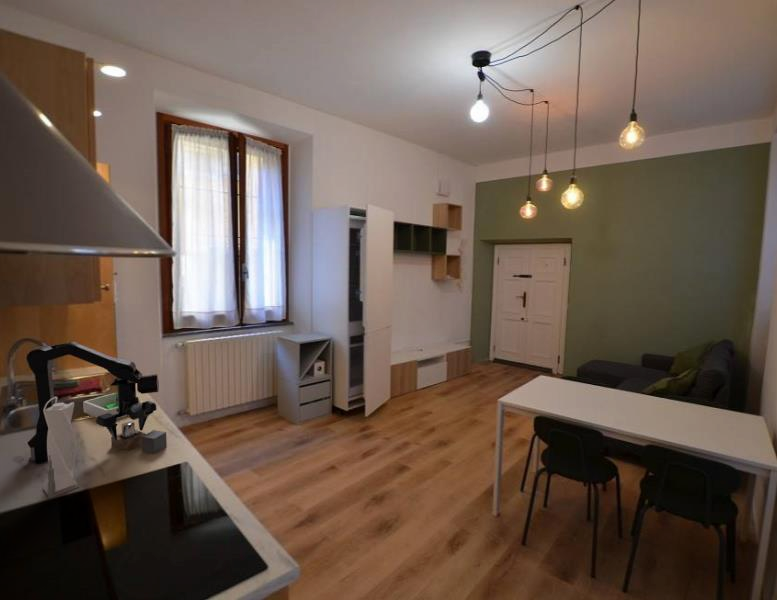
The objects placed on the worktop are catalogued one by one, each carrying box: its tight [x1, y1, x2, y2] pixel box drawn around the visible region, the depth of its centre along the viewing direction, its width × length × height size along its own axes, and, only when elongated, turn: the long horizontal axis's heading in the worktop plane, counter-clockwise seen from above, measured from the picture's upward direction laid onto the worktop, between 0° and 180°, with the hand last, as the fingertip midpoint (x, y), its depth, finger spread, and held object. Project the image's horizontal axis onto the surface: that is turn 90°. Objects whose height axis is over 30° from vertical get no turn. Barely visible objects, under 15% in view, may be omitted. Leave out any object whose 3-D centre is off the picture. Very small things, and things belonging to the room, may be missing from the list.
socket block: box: [110, 429, 146, 453], centre depth 146 cm, size 8×8×4 cm
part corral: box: [82, 392, 141, 417], centre depth 177 cm, size 14×20×5 cm
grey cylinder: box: [121, 421, 136, 440], centre depth 146 cm, size 4×4×8 cm
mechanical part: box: [105, 392, 118, 409], centre depth 177 cm, size 12×6×8 cm, turn 48°
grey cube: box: [141, 430, 168, 455], centre depth 144 cm, size 6×6×6 cm
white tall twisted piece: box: [43, 396, 80, 499], centre depth 118 cm, size 8×8×28 cm
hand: (128, 434), depth 146 cm, fingers open, 9 cm apart
